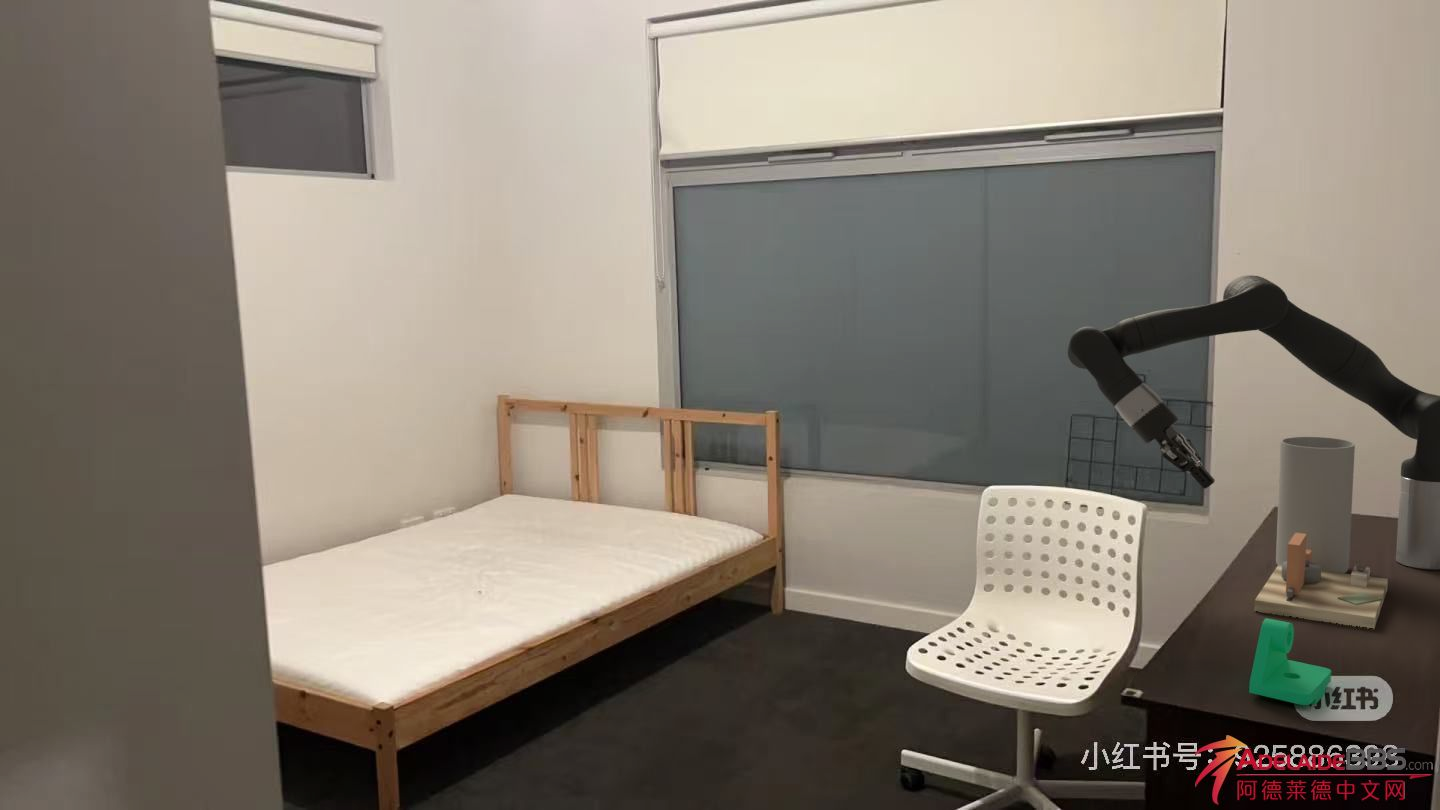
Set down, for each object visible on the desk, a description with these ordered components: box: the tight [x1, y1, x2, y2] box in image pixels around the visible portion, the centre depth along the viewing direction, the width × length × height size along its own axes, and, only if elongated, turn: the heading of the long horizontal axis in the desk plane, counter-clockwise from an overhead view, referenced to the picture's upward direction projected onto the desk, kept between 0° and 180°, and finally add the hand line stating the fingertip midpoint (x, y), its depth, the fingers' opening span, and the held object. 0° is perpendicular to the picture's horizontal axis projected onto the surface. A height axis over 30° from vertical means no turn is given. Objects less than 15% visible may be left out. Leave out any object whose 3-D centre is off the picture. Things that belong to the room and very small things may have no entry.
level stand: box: [1253, 561, 1389, 630], centre depth 193 cm, size 24×18×6 cm
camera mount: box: [1248, 617, 1332, 706], centre depth 155 cm, size 12×8×10 cm, turn 137°
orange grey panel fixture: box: [1281, 533, 1322, 598], centre depth 195 cm, size 19×6×9 cm, turn 144°
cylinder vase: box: [1275, 436, 1356, 574], centre depth 210 cm, size 12×12×25 cm
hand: (1210, 485), depth 200 cm, fingers closed
